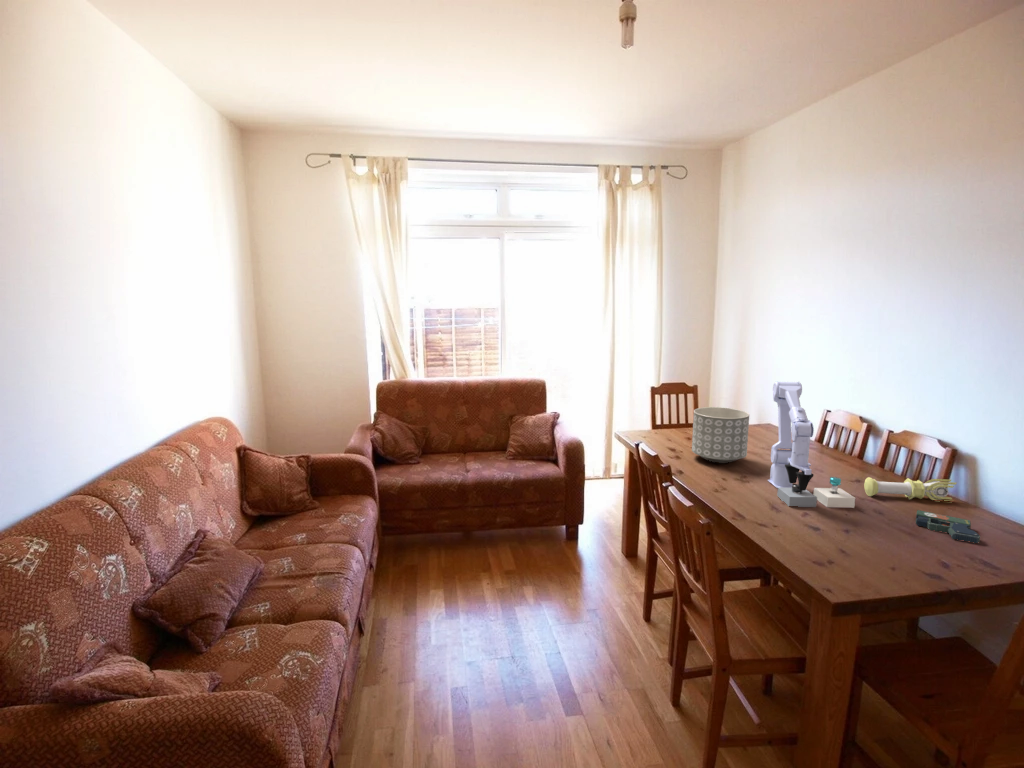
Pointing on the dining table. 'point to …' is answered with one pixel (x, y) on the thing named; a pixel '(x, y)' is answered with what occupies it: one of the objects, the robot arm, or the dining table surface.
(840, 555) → the dining table surface
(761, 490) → the dining table surface
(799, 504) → the grey block
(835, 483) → the teal round knob
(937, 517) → the gun
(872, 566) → the dining table surface
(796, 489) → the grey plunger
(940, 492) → the yellow toy scepter
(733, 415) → the planter
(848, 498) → the cream block
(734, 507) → the dining table surface
